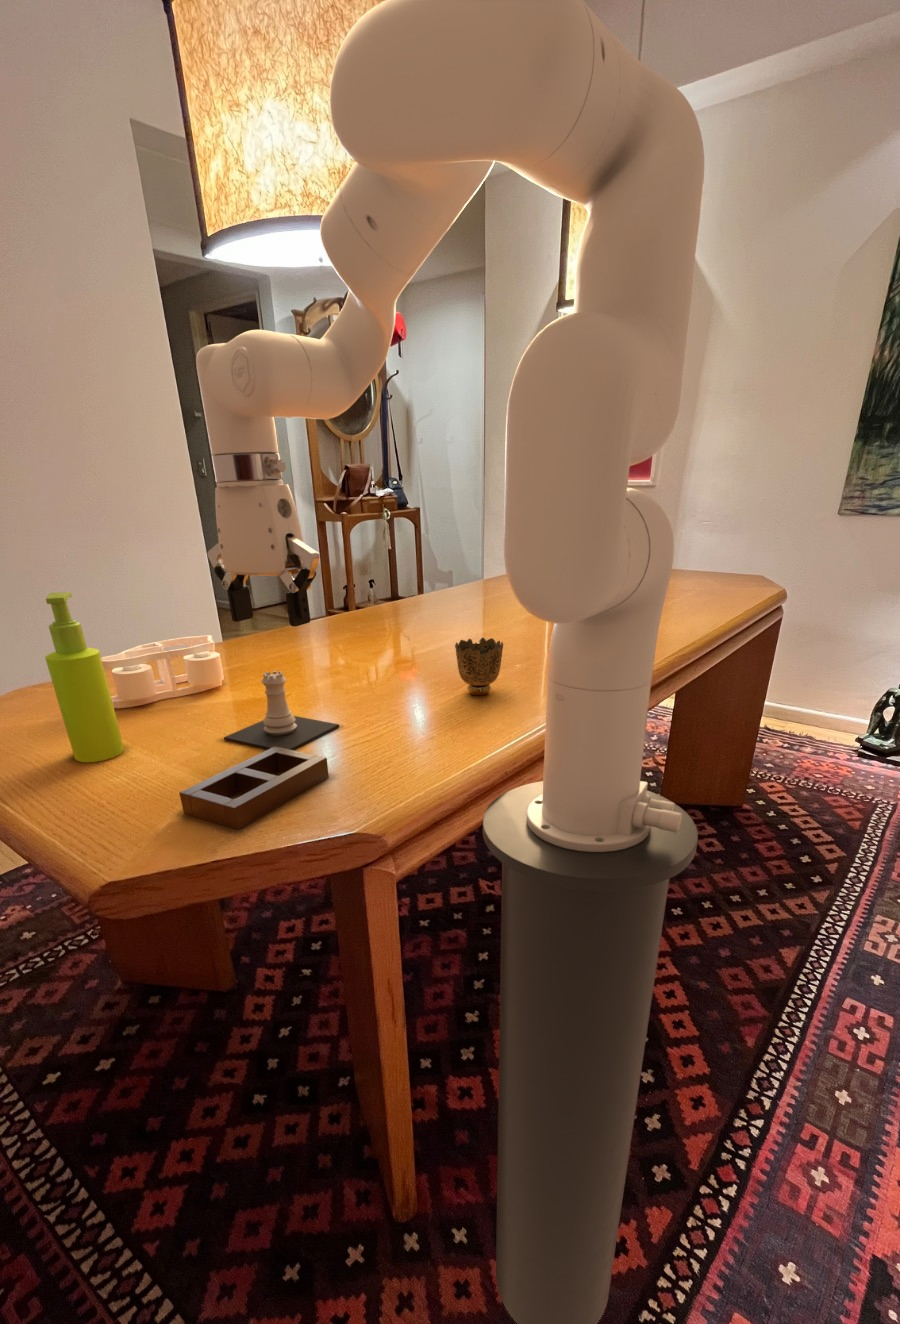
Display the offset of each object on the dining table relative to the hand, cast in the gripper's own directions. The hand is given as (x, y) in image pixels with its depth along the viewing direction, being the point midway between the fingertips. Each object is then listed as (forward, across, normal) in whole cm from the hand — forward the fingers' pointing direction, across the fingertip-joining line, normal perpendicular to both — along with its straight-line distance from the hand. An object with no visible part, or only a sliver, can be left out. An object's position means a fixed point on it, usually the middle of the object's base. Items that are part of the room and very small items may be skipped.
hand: (271, 622), depth 86 cm
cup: (+16, -15, -28) cm, 35 cm away
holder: (+15, -10, +16) cm, 24 cm away
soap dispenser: (+15, +18, +16) cm, 28 cm away
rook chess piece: (+15, +1, 0) cm, 15 cm away
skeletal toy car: (+15, +31, -6) cm, 35 cm away
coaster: (+15, +1, 0) cm, 15 cm away
